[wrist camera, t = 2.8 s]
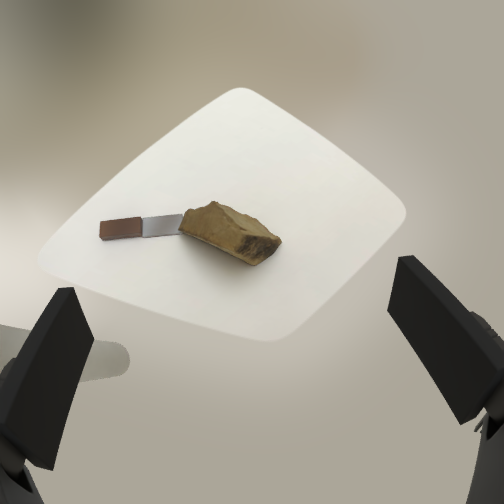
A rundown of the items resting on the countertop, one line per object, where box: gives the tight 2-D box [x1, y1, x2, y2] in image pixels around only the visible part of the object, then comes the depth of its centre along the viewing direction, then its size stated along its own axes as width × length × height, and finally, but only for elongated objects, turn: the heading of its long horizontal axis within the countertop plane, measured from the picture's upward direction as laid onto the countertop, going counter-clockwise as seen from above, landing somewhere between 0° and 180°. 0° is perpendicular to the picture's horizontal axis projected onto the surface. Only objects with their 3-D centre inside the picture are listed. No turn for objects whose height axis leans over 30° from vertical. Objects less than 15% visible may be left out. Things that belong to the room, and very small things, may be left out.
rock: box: [178, 201, 282, 266], centre depth 32 cm, size 11×9×10 cm
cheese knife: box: [99, 214, 183, 240], centre depth 35 cm, size 10×2×1 cm, turn 96°
